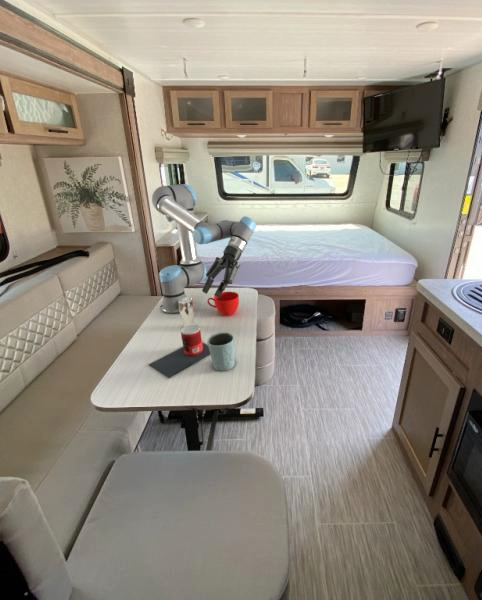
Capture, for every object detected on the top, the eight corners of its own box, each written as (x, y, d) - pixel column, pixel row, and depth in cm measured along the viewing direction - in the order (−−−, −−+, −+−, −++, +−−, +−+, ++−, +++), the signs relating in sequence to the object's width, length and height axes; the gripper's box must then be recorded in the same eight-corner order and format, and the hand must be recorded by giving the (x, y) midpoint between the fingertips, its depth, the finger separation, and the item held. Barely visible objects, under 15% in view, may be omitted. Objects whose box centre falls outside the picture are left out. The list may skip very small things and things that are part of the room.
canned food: (206, 347, 141) (202, 325, 136) (197, 357, 134) (193, 334, 129) (190, 345, 143) (186, 323, 138) (181, 355, 136) (176, 332, 131)
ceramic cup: (212, 308, 180) (210, 291, 176) (242, 308, 178) (240, 291, 174) (205, 318, 168) (203, 301, 164) (237, 319, 166) (235, 301, 162)
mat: (196, 340, 147) (196, 339, 147) (217, 350, 139) (217, 349, 139) (149, 365, 131) (149, 364, 131) (168, 377, 122) (168, 377, 122)
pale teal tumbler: (241, 361, 130) (238, 335, 126) (225, 375, 122) (222, 348, 118) (221, 355, 135) (218, 330, 130) (205, 368, 127) (201, 341, 123)
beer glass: (189, 323, 163) (185, 296, 157) (199, 326, 160) (195, 298, 154) (179, 329, 158) (174, 301, 152) (190, 332, 155) (185, 304, 149)
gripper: (214, 241, 146) (189, 285, 141) (246, 247, 134) (220, 295, 129) (224, 250, 152) (201, 293, 147) (255, 257, 139) (231, 303, 135)
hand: (210, 294), depth 138 cm, fingers open, 8 cm apart
